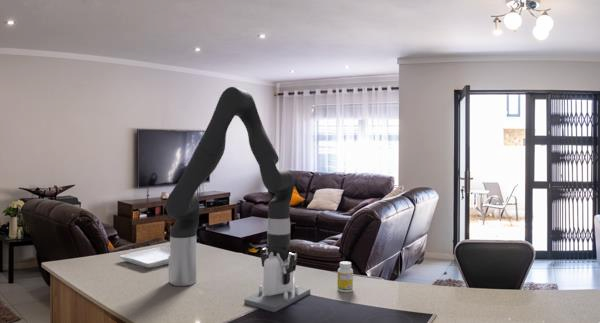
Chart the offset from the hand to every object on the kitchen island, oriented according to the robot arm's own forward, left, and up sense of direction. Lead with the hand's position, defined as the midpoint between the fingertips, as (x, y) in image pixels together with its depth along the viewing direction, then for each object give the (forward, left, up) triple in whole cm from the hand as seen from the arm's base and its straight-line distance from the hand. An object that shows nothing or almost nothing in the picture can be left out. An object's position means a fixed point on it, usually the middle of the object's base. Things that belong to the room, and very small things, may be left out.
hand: (278, 282), depth 141 cm
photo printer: (0, 0, -4) cm, 4 cm away
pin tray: (0, 0, -5) cm, 5 cm away
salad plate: (-70, +5, -6) cm, 70 cm away
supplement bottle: (+14, +20, -6) cm, 25 cm away
